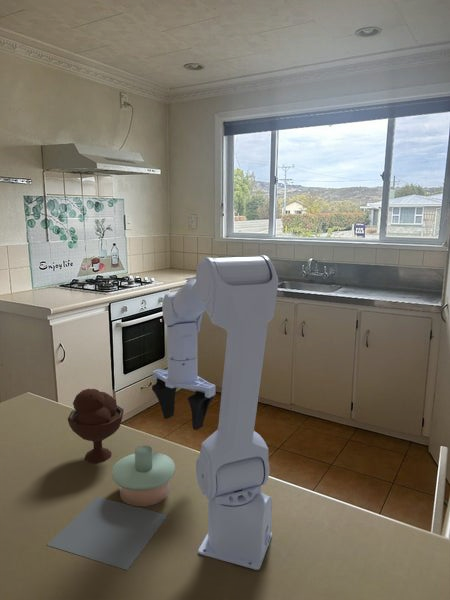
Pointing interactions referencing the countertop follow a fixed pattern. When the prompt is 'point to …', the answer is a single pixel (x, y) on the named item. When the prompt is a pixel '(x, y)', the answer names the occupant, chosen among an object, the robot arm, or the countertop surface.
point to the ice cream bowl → (95, 421)
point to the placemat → (109, 532)
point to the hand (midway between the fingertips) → (183, 422)
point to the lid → (143, 469)
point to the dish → (145, 495)
